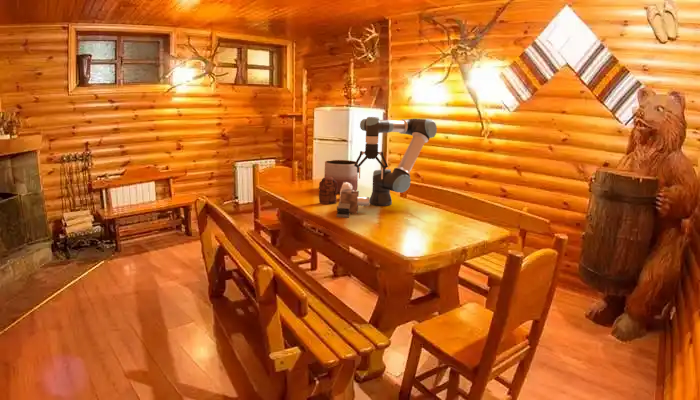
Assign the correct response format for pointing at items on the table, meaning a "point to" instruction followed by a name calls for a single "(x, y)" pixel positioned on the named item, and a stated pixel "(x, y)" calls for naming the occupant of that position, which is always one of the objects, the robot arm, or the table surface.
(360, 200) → the axle
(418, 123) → the robot arm
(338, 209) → the v block
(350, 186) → the figurine
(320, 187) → the wooden figurine
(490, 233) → the table surface
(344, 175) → the planter
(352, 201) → the brown open box
